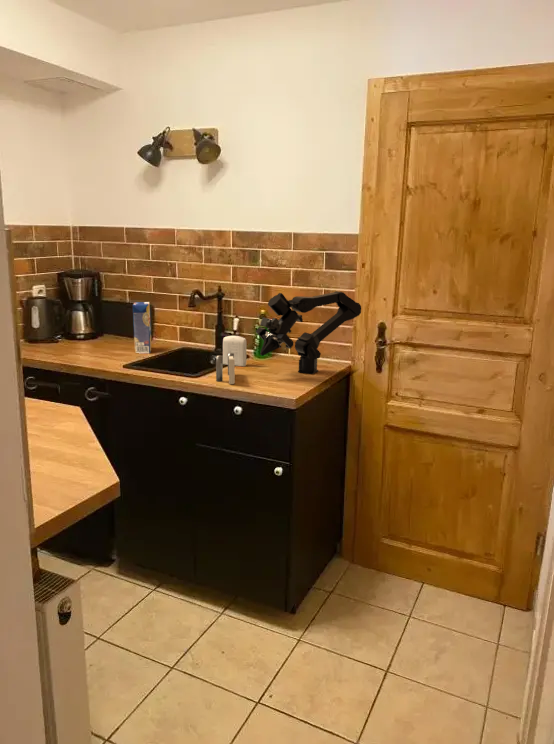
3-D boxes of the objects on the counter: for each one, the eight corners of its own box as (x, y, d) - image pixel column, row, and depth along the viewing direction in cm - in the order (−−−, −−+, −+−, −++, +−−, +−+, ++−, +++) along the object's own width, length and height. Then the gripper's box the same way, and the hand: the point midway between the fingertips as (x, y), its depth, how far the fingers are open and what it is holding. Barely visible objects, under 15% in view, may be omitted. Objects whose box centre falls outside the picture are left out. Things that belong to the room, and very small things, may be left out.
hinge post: (235, 374, 223) (235, 353, 221) (231, 375, 221) (231, 354, 219) (229, 373, 224) (229, 352, 222) (226, 374, 222) (226, 353, 220)
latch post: (223, 380, 213) (223, 355, 211) (220, 381, 211) (220, 356, 209) (218, 379, 214) (218, 355, 212) (214, 381, 212) (214, 356, 210)
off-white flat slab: (228, 375, 220) (228, 351, 218) (233, 375, 220) (233, 351, 218) (229, 384, 207) (229, 359, 205) (234, 384, 207) (234, 359, 205)
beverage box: (151, 348, 269) (149, 302, 264) (150, 353, 259) (148, 305, 254) (136, 348, 268) (134, 302, 263) (134, 353, 258) (132, 305, 253)
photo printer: (247, 364, 239) (248, 335, 236) (244, 367, 235) (244, 337, 232) (225, 362, 242) (225, 334, 239) (221, 365, 238) (221, 335, 235)
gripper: (259, 306, 221) (235, 337, 218) (287, 312, 206) (261, 345, 203) (276, 325, 227) (253, 355, 224) (304, 332, 212) (279, 364, 209)
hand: (261, 354), depth 215 cm, fingers closed
